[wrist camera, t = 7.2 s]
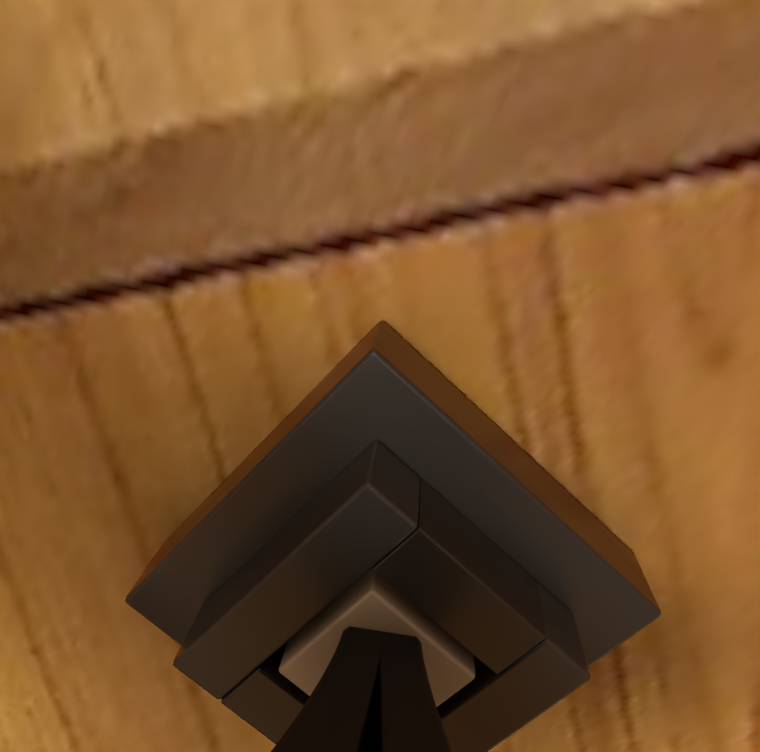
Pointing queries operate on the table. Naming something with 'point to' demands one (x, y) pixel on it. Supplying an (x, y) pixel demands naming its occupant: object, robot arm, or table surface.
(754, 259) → the table surface
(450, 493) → the stepped square riser
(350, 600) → the beige block
